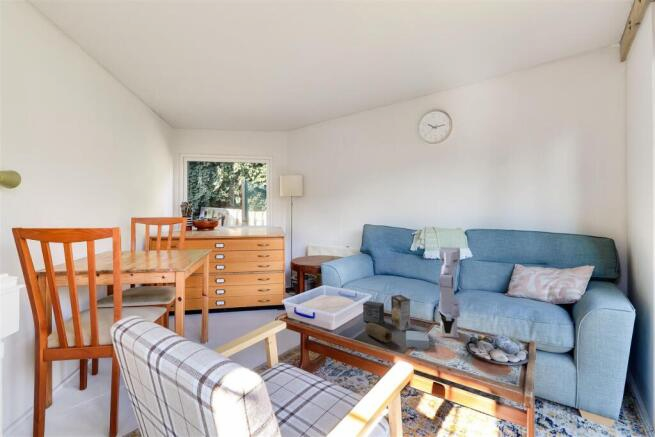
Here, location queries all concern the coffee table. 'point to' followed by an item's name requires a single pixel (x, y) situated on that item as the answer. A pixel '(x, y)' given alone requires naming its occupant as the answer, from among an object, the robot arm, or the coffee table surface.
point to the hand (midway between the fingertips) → (446, 330)
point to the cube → (444, 330)
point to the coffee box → (400, 312)
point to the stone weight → (378, 332)
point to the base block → (417, 339)
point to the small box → (373, 312)
